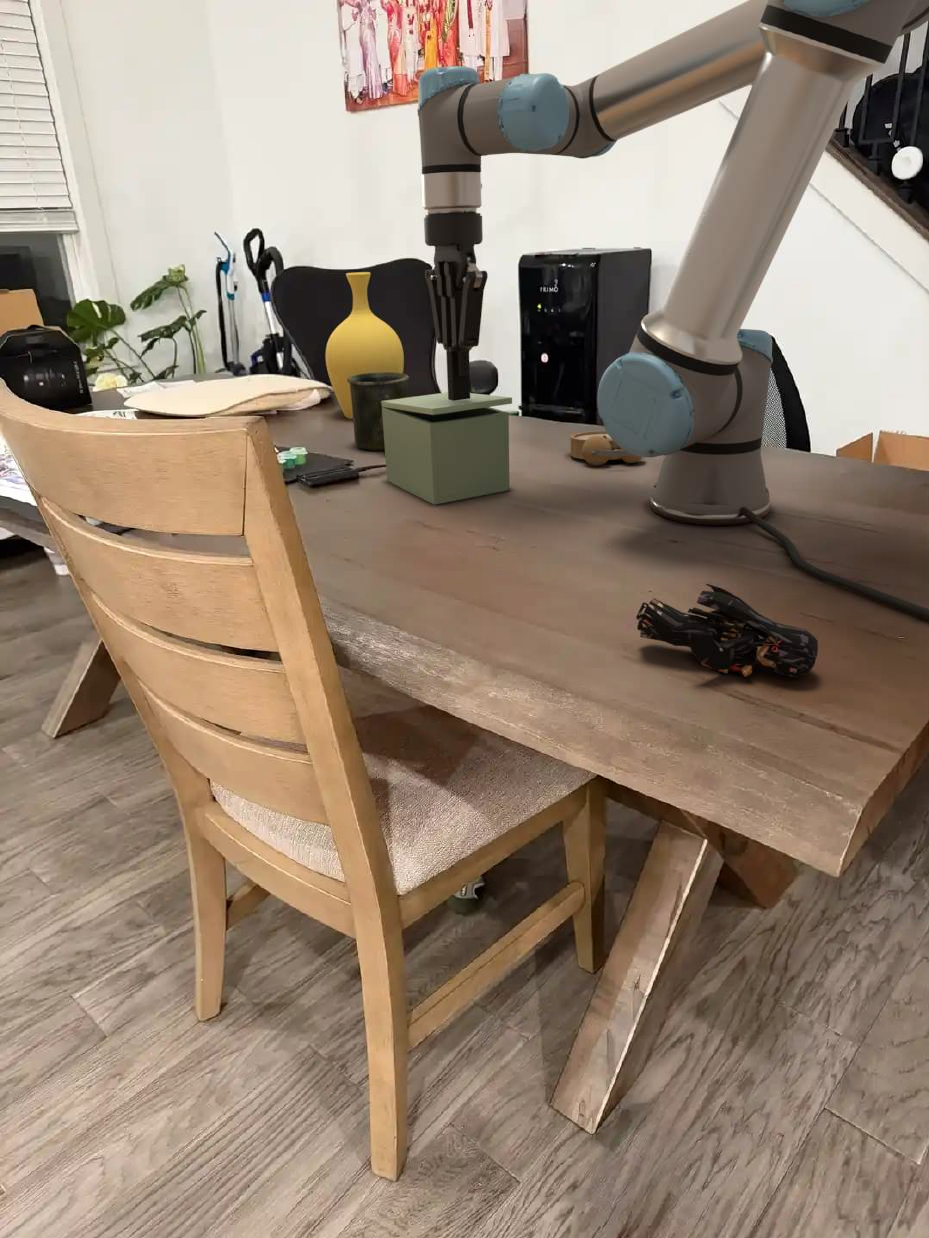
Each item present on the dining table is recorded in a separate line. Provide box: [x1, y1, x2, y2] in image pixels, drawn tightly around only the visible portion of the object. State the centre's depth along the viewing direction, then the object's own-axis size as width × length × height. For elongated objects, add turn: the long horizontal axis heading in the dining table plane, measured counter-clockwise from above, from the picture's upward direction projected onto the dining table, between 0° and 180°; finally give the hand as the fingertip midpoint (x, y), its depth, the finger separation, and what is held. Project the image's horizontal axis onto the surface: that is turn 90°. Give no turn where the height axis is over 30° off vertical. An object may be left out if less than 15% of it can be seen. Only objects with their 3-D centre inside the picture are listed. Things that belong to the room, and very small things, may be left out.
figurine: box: [635, 583, 819, 678], centre depth 72 cm, size 9×8×15 cm
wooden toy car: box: [569, 430, 643, 466], centre depth 138 cm, size 11×5×15 cm
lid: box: [381, 391, 513, 415], centre depth 122 cm, size 17×13×1 cm
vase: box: [325, 271, 405, 420], centre depth 173 cm, size 16×16×28 cm
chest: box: [382, 407, 510, 506], centre depth 125 cm, size 16×13×11 cm
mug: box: [347, 372, 410, 451], centre depth 149 cm, size 11×15×12 cm
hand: (459, 398), depth 118 cm, fingers closed
